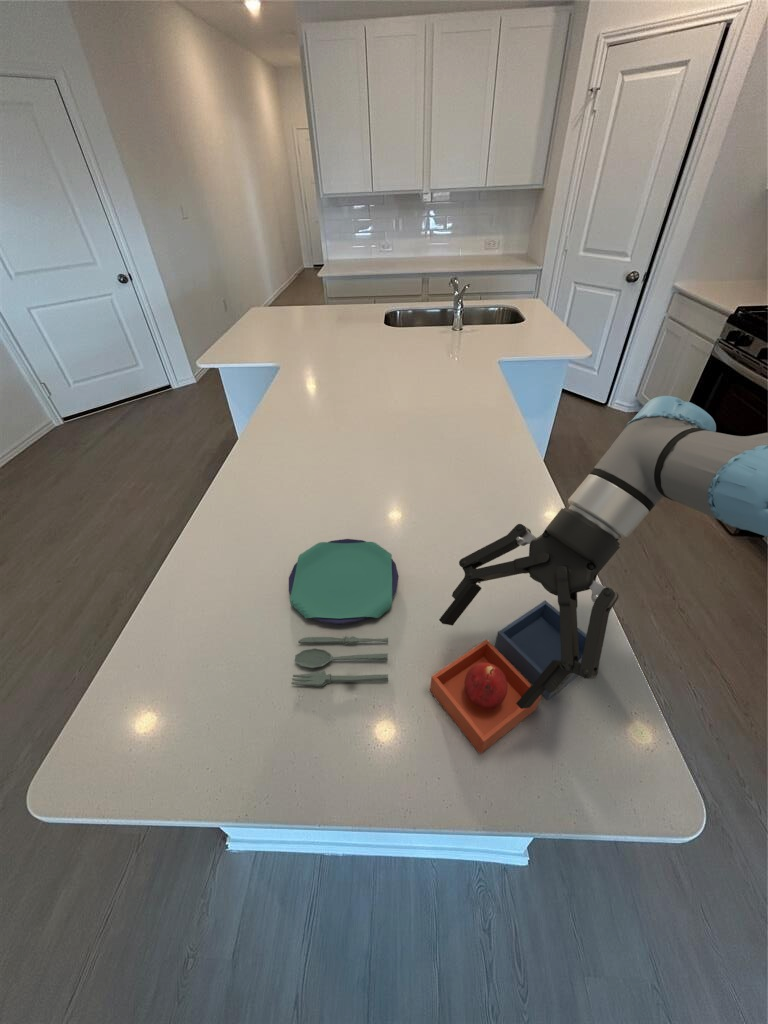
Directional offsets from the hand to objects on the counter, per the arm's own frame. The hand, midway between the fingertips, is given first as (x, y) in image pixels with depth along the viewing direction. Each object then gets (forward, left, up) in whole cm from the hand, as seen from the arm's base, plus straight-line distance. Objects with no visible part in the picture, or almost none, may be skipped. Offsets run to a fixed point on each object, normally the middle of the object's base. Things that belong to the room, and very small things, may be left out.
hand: (481, 661), depth 54 cm
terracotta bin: (0, -2, -13) cm, 13 cm away
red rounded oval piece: (0, -2, -12) cm, 13 cm away
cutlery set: (+26, +6, -13) cm, 30 cm away
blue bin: (0, -15, -13) cm, 20 cm away
